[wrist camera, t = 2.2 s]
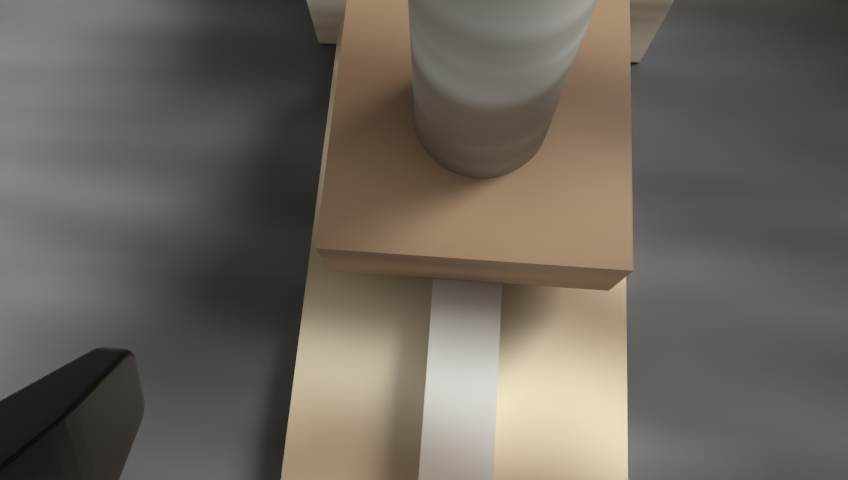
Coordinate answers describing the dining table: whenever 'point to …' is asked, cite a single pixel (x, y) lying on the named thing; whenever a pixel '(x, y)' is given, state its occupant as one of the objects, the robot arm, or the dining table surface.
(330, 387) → the rail track
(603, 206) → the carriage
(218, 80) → the dining table surface
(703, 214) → the dining table surface
